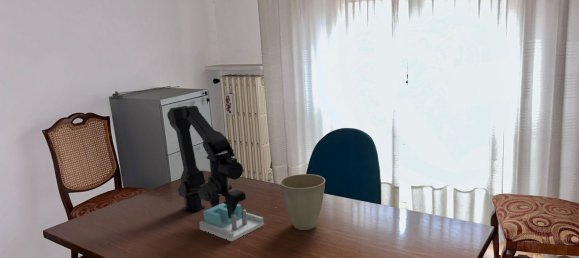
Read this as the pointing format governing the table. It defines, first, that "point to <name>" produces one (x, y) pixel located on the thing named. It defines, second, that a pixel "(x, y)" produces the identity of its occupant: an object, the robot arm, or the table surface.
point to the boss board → (239, 228)
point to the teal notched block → (219, 214)
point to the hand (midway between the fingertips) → (223, 215)
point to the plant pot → (303, 199)
